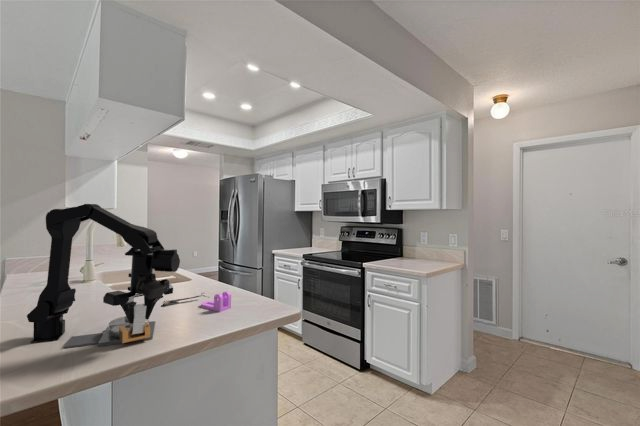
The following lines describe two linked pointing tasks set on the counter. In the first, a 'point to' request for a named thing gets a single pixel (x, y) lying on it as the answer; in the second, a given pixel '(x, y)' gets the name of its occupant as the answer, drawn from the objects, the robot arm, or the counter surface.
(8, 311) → the counter surface
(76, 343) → the mat
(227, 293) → the bracket
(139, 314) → the gray rectangular block
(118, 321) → the oval metal lid
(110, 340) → the base plate
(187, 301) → the hacksaw
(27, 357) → the counter surface
